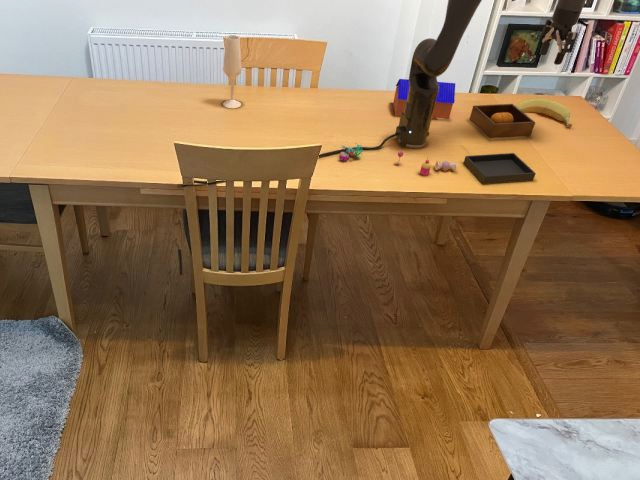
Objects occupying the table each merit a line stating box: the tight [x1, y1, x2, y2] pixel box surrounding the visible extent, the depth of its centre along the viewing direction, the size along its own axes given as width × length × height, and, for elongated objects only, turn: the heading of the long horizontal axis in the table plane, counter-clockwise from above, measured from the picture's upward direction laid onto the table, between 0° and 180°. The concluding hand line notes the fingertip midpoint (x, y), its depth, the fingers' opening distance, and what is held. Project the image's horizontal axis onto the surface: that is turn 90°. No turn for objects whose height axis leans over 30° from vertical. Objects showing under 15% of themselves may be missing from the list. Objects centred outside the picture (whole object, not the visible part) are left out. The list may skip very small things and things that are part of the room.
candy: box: [397, 150, 457, 176], centre depth 183 cm, size 18×8×6 cm, turn 91°
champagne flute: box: [222, 34, 243, 109], centre depth 209 cm, size 7×7×24 cm
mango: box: [490, 112, 513, 124], centre depth 208 cm, size 8×5×5 cm, turn 101°
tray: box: [463, 152, 536, 185], centre depth 185 cm, size 17×13×3 cm
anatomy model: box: [339, 142, 364, 161], centre depth 188 cm, size 5×8×7 cm
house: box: [392, 78, 456, 120], centre depth 215 cm, size 12×20×12 cm, turn 84°
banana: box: [515, 98, 573, 129], centre depth 217 cm, size 14×6×20 cm
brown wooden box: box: [469, 103, 536, 139], centre depth 208 cm, size 16×16×6 cm
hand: (549, 59), depth 190 cm, fingers open, 8 cm apart
